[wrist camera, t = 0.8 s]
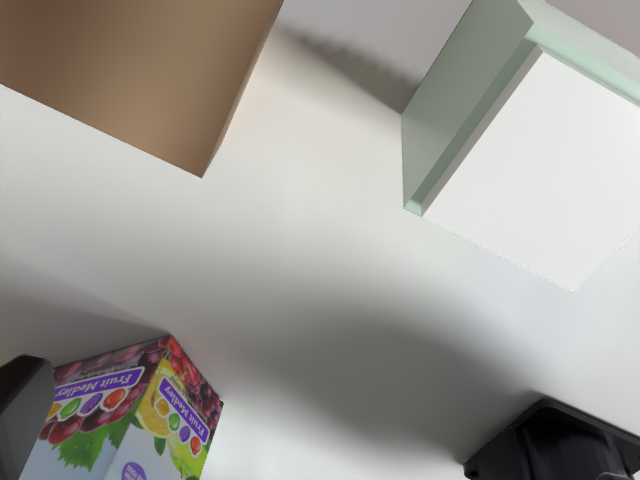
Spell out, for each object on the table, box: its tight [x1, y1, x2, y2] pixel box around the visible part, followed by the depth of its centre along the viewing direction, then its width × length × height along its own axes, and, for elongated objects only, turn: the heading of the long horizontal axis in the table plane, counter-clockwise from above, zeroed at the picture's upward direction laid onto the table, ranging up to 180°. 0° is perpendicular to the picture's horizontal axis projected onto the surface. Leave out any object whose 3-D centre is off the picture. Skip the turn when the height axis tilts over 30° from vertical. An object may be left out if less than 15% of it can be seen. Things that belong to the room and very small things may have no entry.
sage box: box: [401, 0, 640, 292], centre depth 15 cm, size 5×5×7 cm
